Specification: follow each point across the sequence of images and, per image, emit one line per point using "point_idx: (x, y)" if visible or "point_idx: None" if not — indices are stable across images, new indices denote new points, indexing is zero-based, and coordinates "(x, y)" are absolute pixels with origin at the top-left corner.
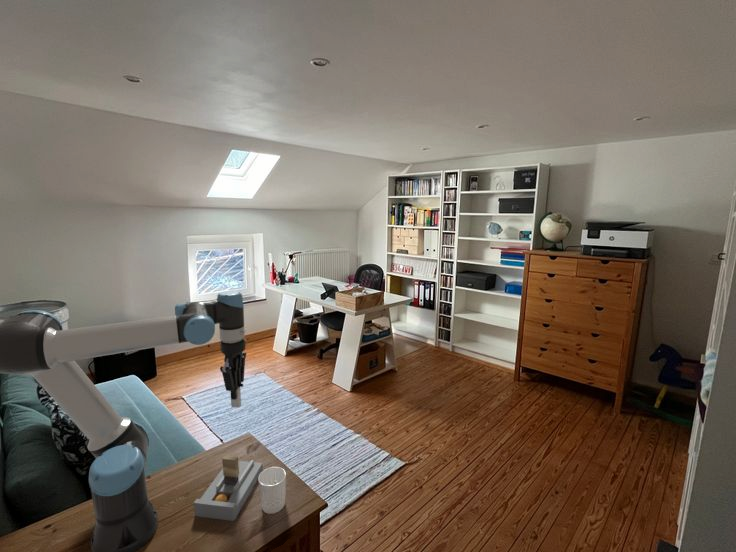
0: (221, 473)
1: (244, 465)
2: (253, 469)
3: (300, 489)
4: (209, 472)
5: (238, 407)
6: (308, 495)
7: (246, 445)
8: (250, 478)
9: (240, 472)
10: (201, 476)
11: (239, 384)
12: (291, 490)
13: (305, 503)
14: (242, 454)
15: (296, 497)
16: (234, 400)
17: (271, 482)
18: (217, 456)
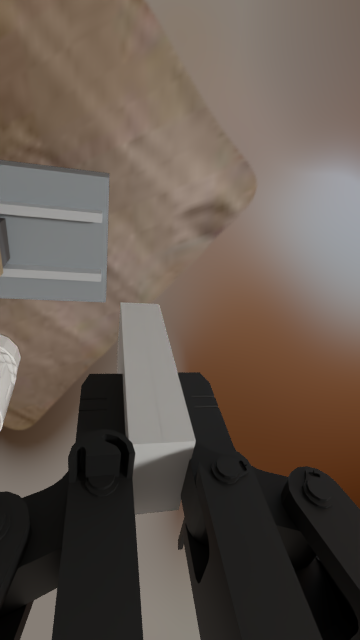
0: (28, 179)
1: (86, 249)
2: (71, 286)
3: (55, 393)
4: (72, 97)
5: (117, 355)
6: (40, 411)
7: (227, 192)
8: (30, 291)
9: (50, 248)
10: (44, 68)
11: (185, 550)
12: (47, 377)
13: (15, 412)
14: (179, 196)
15: (28, 392)
16: (120, 369)
17: (3, 370)
18: (166, 91)
